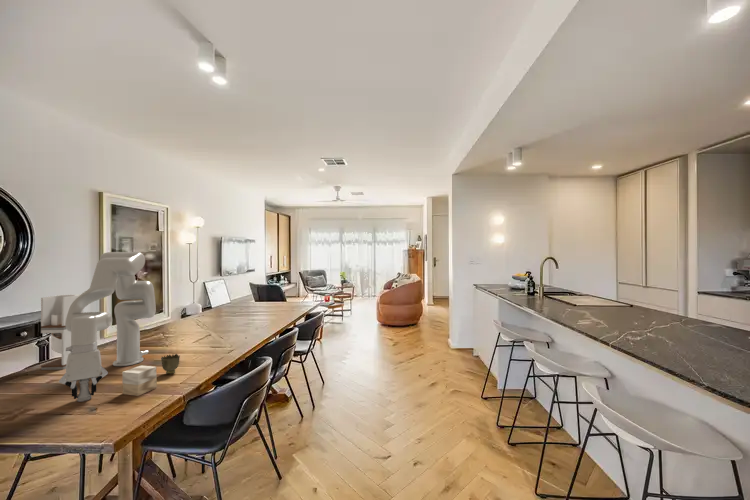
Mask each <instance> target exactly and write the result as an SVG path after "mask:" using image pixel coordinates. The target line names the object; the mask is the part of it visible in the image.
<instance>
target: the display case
mask: <svg viewBox="0 0 750 500" xmlns="http://www.w3.org/2000/svg"><path fill="white" fill-rule="evenodd" d="M80 295H81V294H59V295H58V294H57V295H52V296H51V295H50V296H45V297H44V296H43V297H40V334H50V337H51V339H50V341H51V342H50V343H51V344H50V347H51V350H52V351H53V352H55V353H57V354H61V358H60V359H59V358H58V359H56V360H54V361H51V362H48V363H45V364H42V365H40V371H51V370H59V371H60V370H66V364H67V358H68V354H69V353H71V352H70V351H66V347H70V346H71V332H70V331H68V330H67V329H66V326H65V321H66V317H67V314H68V311H69V308H70V306H71V304H72V303H73V301H74V300H75V299H76V298H77V297H79V296H80ZM81 313H84V309H83V310H82V312H81Z"/></svg>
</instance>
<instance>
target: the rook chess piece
mask: <svg viewBox="0 0 750 500" xmlns="http://www.w3.org/2000/svg"><path fill="white" fill-rule="evenodd" d="M89 383H90V378H89V379H83V380H78V384H79V393H77V398H76V401H77V402H79V403H80V402H81V403H82V402H87V401H89V400H91V399H92V398H93V397H92V396H93V395H91V391H90V387H89V385H90V384H89Z"/></svg>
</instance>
